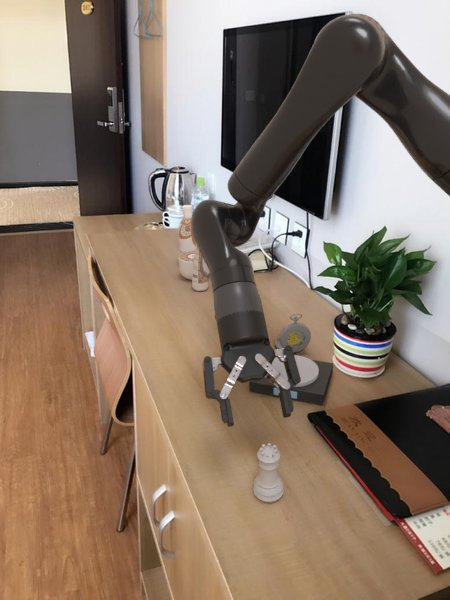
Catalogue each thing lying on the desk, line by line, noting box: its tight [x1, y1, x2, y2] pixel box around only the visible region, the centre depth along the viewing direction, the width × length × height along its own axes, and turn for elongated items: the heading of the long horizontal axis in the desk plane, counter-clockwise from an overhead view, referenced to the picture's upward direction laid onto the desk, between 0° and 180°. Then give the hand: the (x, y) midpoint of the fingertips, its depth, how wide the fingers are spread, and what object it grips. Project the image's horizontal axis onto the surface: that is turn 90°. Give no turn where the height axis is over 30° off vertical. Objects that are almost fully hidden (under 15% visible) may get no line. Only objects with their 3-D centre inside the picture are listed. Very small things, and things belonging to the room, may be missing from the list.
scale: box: [248, 354, 334, 406], centre depth 97 cm, size 14×11×3 cm
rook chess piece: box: [252, 442, 285, 503], centre depth 71 cm, size 4×4×8 cm
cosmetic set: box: [177, 204, 210, 292], centre depth 143 cm, size 25×9×19 cm, turn 12°
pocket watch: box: [274, 313, 312, 354], centre depth 107 cm, size 8×8×10 cm
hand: (259, 421), depth 73 cm, fingers open, 8 cm apart
